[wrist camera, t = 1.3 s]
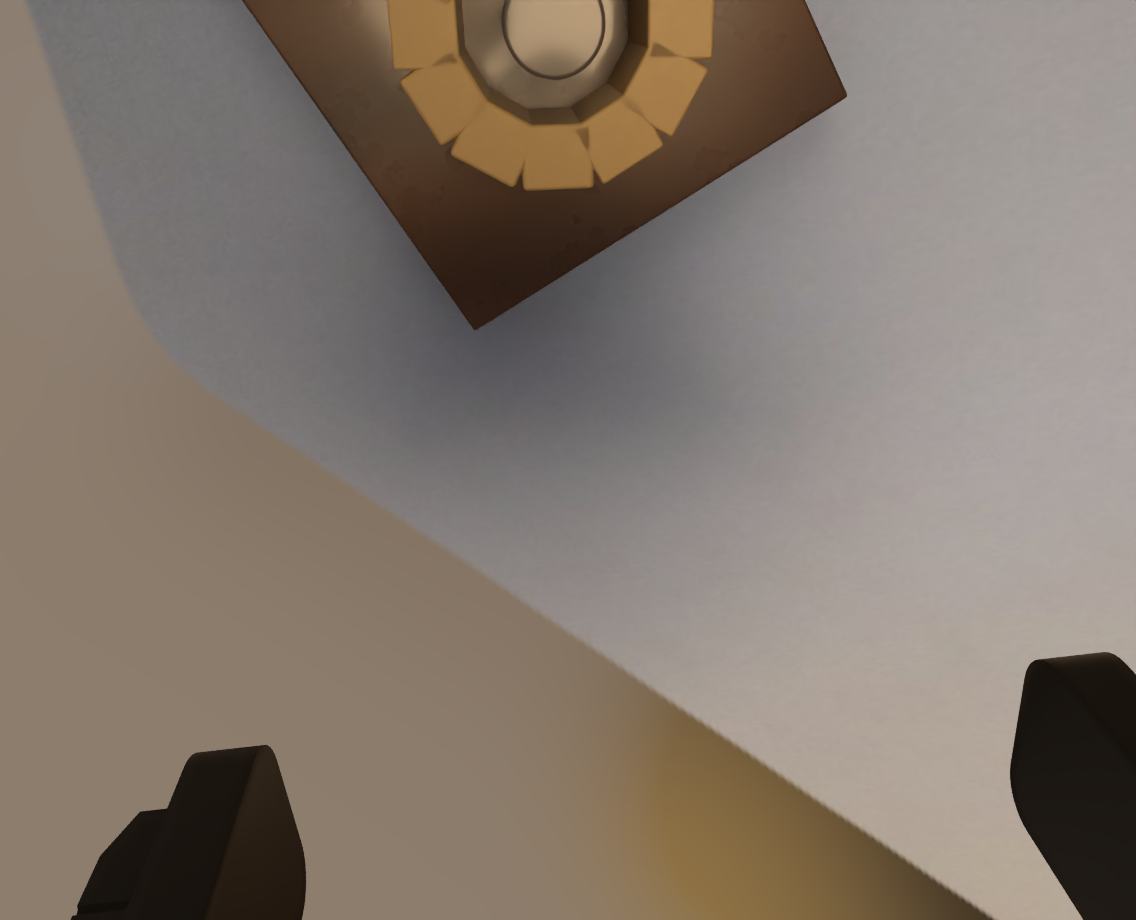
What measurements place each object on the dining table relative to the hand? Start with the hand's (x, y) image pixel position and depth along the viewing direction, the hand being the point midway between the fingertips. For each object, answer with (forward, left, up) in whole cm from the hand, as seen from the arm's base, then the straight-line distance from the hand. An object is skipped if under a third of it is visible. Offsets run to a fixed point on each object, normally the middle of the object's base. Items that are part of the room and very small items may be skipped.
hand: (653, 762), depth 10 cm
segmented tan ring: (-6, +3, -14) cm, 16 cm away
